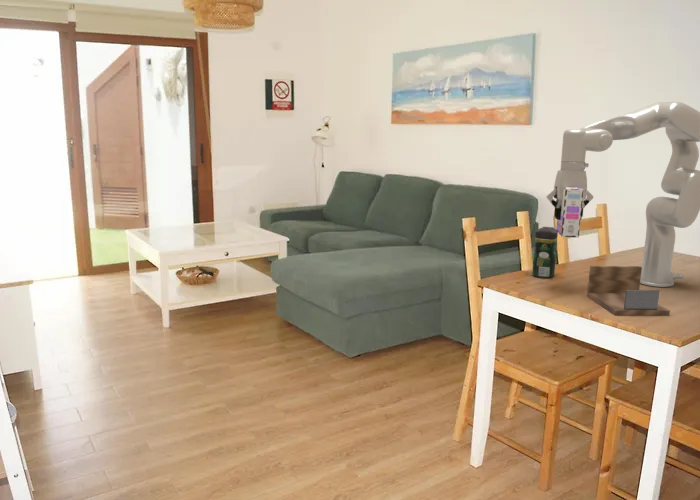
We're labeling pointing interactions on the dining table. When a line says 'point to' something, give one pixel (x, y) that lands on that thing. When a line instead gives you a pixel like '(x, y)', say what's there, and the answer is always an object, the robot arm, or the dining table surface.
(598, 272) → the wooden shelf
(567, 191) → the candy box
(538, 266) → the coffee jar
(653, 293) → the grey flat slab
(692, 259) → the dining table surface
